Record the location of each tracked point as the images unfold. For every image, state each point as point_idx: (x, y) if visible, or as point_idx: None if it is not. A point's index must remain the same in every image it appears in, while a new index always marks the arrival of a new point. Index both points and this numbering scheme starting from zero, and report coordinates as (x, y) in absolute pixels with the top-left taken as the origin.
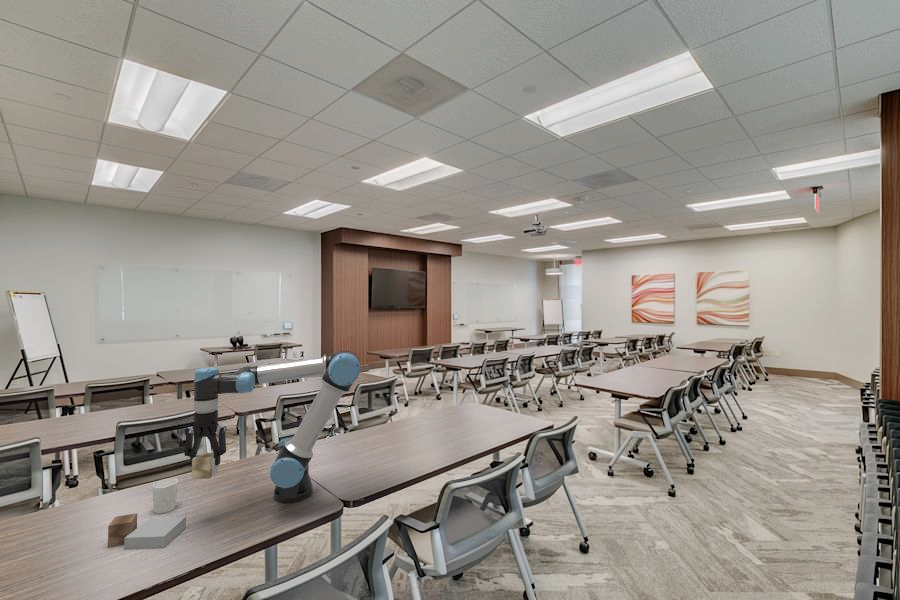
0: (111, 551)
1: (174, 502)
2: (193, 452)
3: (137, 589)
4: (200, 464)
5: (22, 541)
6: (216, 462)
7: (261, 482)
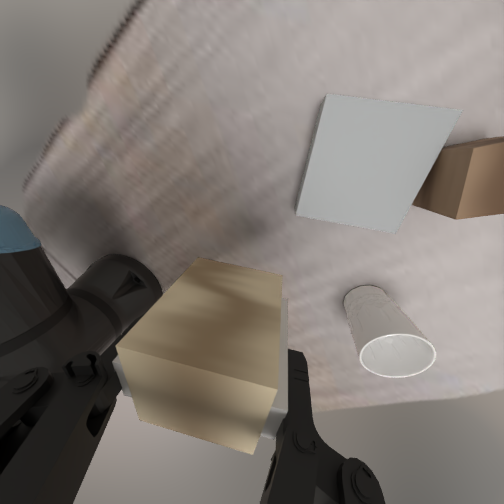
0: (472, 111)
1: (348, 307)
2: (280, 494)
3: None
4: (215, 324)
5: None
6: None
7: None
